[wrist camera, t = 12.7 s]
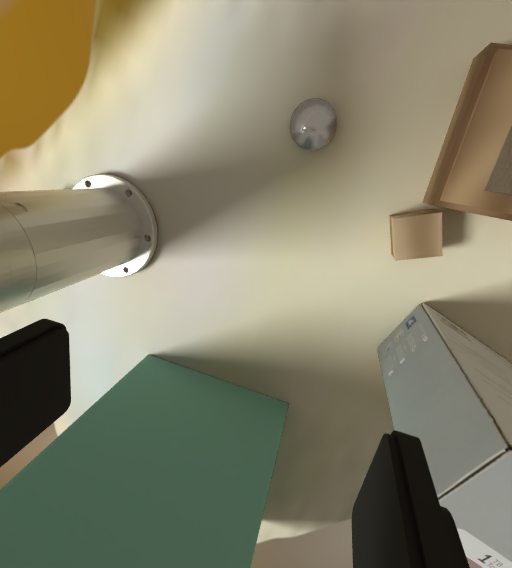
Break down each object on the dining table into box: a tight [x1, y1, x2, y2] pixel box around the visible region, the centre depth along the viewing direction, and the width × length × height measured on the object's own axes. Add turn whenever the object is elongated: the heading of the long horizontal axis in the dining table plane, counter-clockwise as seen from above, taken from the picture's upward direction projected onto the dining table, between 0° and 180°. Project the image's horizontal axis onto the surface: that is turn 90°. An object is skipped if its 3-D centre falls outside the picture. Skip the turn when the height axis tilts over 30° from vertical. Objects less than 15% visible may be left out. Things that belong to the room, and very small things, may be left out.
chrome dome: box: [290, 99, 337, 150], centre depth 31 cm, size 4×4×1 cm
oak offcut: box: [390, 209, 442, 260], centre depth 31 cm, size 4×4×3 cm
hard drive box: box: [377, 303, 512, 568], centre depth 26 cm, size 16×8×20 cm, turn 59°
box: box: [0, 355, 289, 568], centre depth 36 cm, size 23×21×26 cm
